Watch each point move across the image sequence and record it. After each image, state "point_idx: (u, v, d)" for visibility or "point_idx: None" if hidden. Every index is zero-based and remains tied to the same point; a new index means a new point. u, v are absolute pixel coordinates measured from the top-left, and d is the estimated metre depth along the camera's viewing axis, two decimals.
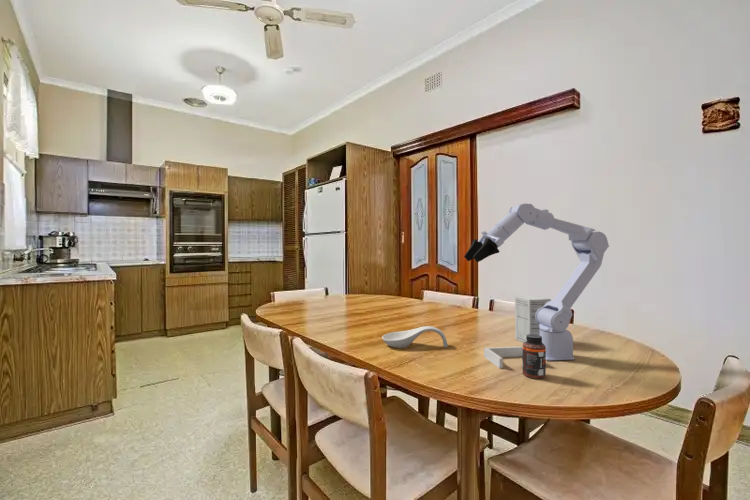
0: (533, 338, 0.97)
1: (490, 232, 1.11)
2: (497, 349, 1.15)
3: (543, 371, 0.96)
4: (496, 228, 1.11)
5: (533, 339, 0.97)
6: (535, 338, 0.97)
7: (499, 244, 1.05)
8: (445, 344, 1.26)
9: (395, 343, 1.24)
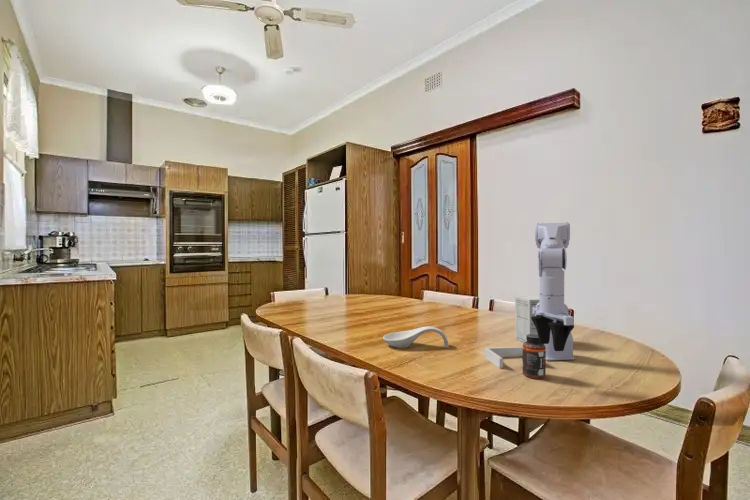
0: (533, 338, 0.97)
1: (545, 309, 0.89)
2: (497, 349, 1.15)
3: (543, 371, 0.96)
4: (547, 300, 0.89)
5: (533, 339, 0.97)
6: (535, 338, 0.97)
7: (571, 323, 0.83)
8: (446, 344, 1.25)
9: (396, 343, 1.24)
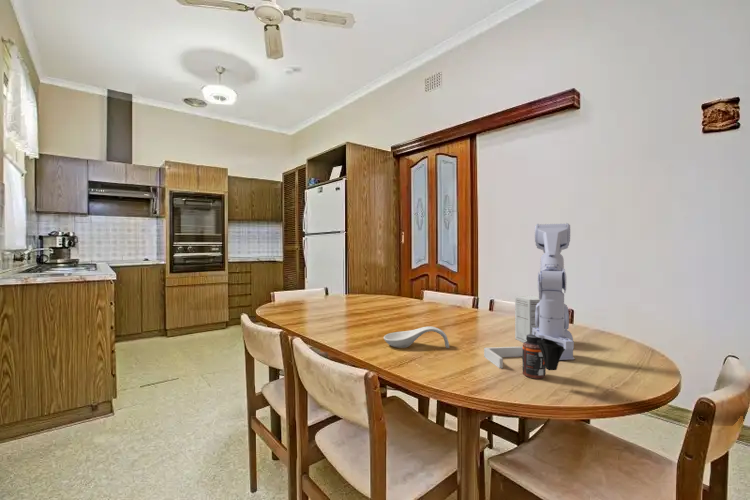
0: (533, 338, 0.97)
1: (545, 331, 0.89)
2: (497, 349, 1.15)
3: (543, 371, 0.96)
4: (547, 323, 0.89)
5: (533, 339, 0.97)
6: (535, 338, 0.97)
7: (571, 347, 0.83)
8: (446, 345, 1.25)
9: (396, 343, 1.24)
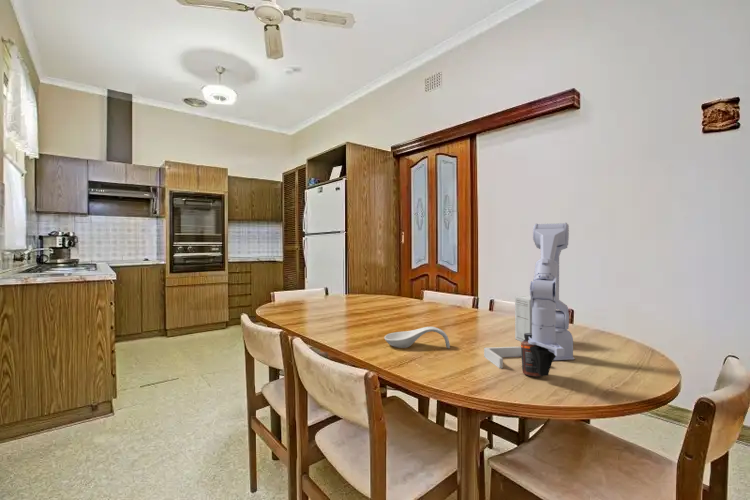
0: (531, 335, 0.98)
1: (537, 338, 0.93)
2: (497, 349, 1.15)
3: None
4: (539, 330, 0.92)
5: (531, 337, 0.98)
6: None
7: (562, 354, 0.87)
8: (447, 345, 1.25)
9: (396, 343, 1.24)
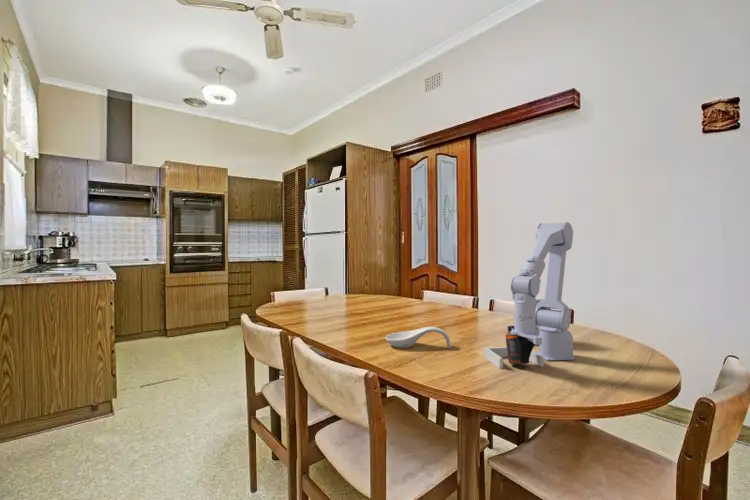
0: (513, 326, 1.08)
1: (518, 329, 1.02)
2: (497, 349, 1.15)
3: None
4: (520, 322, 1.01)
5: (513, 327, 1.07)
6: None
7: (540, 342, 0.96)
8: (448, 345, 1.24)
9: (397, 343, 1.24)
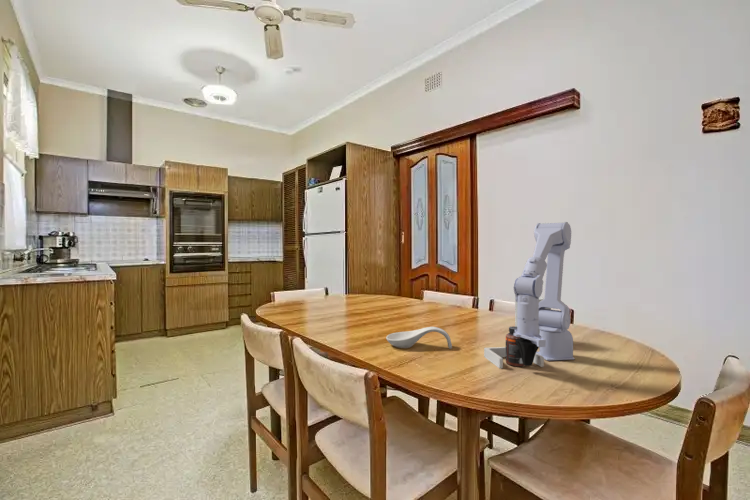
0: None
1: (521, 331, 1.00)
2: (497, 349, 1.15)
3: None
4: (523, 324, 1.00)
5: None
6: None
7: (543, 345, 0.95)
8: (449, 345, 1.24)
9: (398, 343, 1.23)
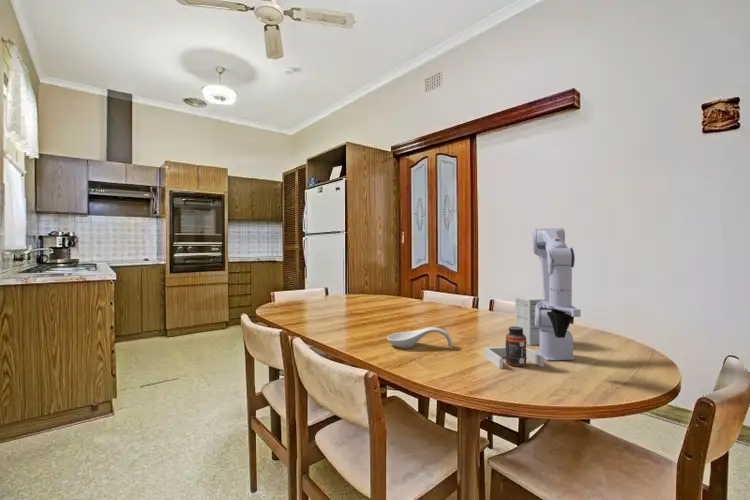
0: (515, 330, 1.07)
1: (554, 302, 0.99)
2: (497, 349, 1.15)
3: (524, 359, 1.06)
4: (556, 295, 0.99)
5: (515, 331, 1.06)
6: (516, 330, 1.06)
7: (578, 315, 0.93)
8: (450, 346, 1.24)
9: (398, 343, 1.24)
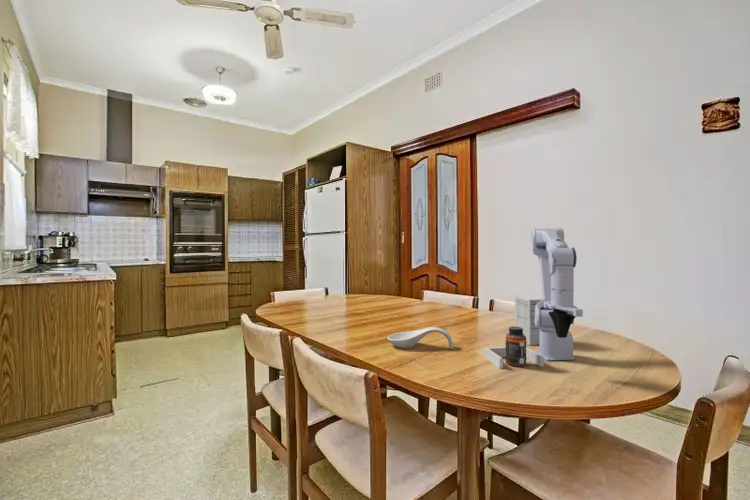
0: (515, 330, 1.07)
1: (556, 302, 0.99)
2: (497, 349, 1.15)
3: (524, 359, 1.06)
4: (558, 295, 0.98)
5: (515, 331, 1.06)
6: (516, 330, 1.06)
7: (580, 315, 0.93)
8: (450, 346, 1.23)
9: (399, 343, 1.24)
